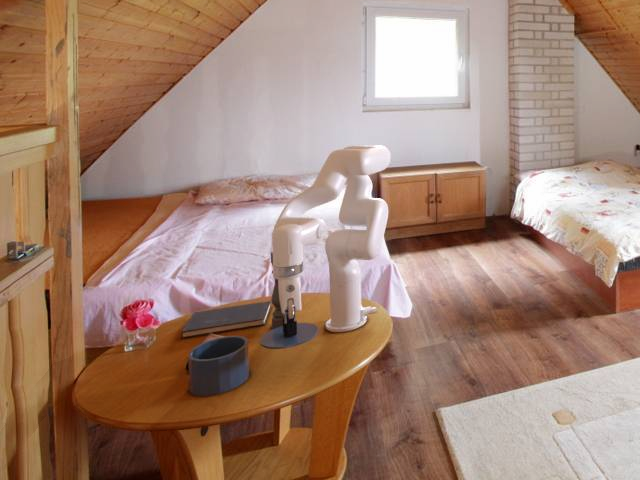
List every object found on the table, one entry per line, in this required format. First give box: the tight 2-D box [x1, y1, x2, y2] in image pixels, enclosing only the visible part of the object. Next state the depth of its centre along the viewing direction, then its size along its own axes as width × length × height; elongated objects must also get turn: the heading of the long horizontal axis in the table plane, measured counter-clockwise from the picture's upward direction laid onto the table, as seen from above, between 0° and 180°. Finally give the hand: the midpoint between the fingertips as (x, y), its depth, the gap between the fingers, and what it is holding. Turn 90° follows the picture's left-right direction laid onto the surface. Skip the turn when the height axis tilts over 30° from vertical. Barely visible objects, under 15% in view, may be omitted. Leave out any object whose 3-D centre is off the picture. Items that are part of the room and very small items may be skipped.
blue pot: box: [187, 335, 250, 397], centre depth 158 cm, size 14×14×10 cm
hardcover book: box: [180, 300, 272, 340], centre depth 194 cm, size 16×23×2 cm
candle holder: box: [270, 251, 284, 330], centre depth 190 cm, size 6×6×25 cm
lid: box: [259, 317, 319, 350], centre depth 163 cm, size 15×15×6 cm
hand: (289, 332), depth 163 cm, fingers closed on lid, 2 cm apart
